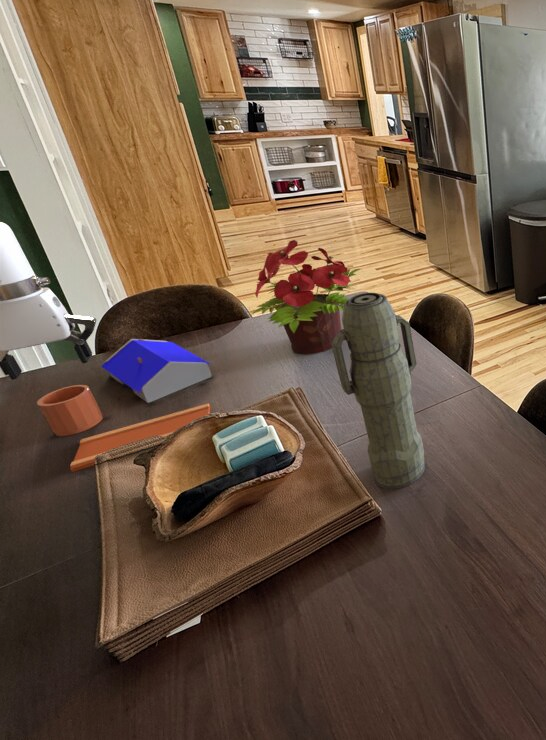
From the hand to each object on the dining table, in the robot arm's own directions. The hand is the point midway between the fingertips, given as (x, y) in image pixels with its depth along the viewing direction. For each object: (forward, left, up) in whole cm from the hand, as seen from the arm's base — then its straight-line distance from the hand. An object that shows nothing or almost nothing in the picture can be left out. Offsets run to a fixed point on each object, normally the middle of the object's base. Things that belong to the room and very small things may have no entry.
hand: (52, 367), depth 94 cm
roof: (+12, +14, -14) cm, 23 cm away
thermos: (+51, -53, -14) cm, 75 cm away
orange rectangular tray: (+12, -13, -14) cm, 22 cm away
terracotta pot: (0, 0, -14) cm, 14 cm away
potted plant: (+46, +8, -14) cm, 48 cm away
